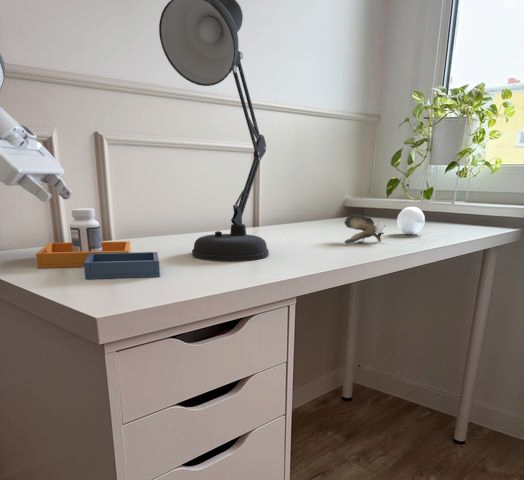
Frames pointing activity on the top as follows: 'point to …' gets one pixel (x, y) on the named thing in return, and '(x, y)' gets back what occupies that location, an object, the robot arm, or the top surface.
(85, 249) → the pill bottle
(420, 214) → the white egg
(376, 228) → the eagle figurine
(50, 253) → the amber tray
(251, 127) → the desk lamp
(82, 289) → the top surface
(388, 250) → the top surface
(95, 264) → the slate tray
